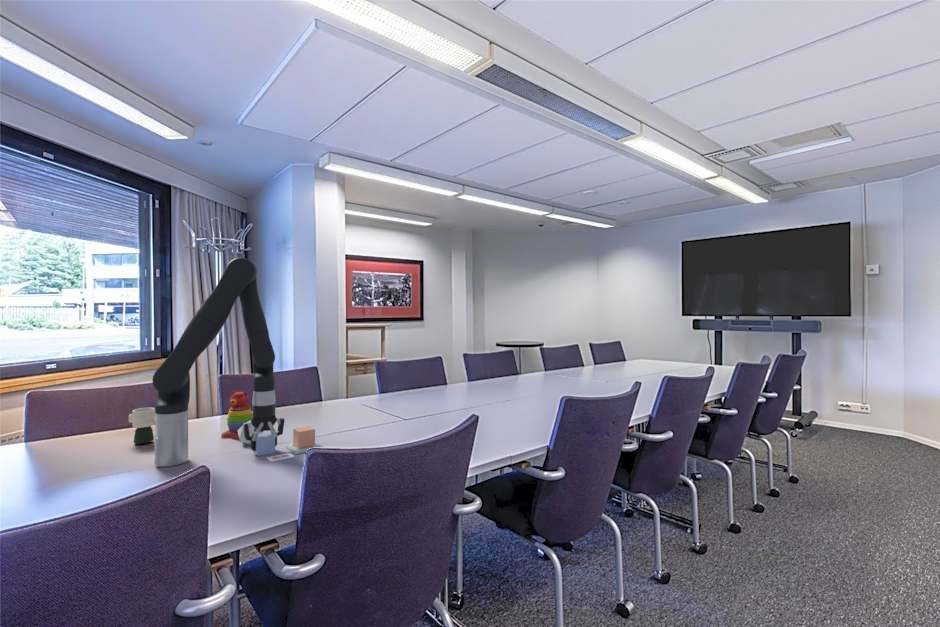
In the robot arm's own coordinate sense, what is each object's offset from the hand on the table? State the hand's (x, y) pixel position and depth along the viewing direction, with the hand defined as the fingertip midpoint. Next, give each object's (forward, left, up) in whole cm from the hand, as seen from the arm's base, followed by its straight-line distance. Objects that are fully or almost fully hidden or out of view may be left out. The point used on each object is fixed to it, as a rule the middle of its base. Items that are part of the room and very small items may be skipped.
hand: (264, 448), depth 161 cm
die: (-1, +15, -1) cm, 15 cm away
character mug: (-33, +40, -1) cm, 52 cm away
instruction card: (+3, -10, -1) cm, 10 cm away
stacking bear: (-2, +29, -1) cm, 29 cm away
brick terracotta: (+13, -4, 0) cm, 14 cm away
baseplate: (+13, -4, -1) cm, 14 cm away
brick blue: (0, 0, -1) cm, 1 cm away
